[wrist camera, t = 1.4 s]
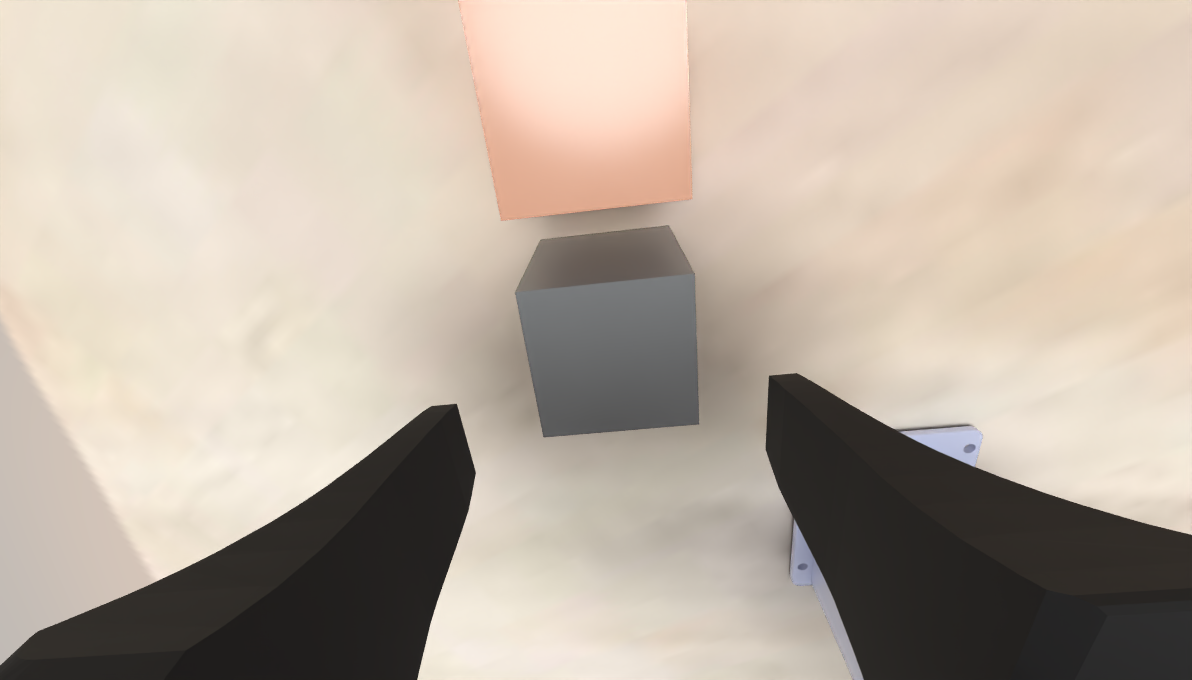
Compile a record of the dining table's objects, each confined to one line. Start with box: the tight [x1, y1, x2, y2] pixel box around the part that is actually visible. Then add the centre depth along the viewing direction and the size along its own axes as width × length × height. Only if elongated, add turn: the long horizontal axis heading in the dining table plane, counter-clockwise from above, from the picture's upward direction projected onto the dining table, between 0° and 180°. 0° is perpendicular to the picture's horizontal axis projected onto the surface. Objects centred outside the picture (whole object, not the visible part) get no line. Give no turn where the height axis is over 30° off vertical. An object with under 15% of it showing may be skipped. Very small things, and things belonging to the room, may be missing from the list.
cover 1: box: [458, 0, 692, 221], centre depth 14 cm, size 5×5×6 cm
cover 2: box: [515, 226, 699, 437], centre depth 17 cm, size 5×5×6 cm
